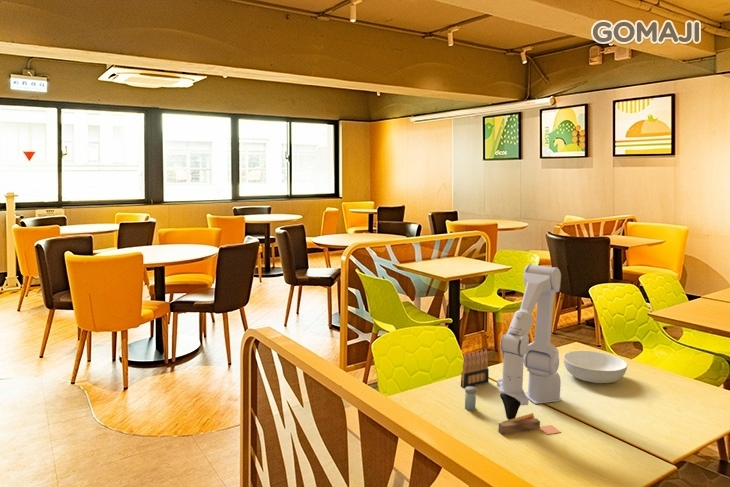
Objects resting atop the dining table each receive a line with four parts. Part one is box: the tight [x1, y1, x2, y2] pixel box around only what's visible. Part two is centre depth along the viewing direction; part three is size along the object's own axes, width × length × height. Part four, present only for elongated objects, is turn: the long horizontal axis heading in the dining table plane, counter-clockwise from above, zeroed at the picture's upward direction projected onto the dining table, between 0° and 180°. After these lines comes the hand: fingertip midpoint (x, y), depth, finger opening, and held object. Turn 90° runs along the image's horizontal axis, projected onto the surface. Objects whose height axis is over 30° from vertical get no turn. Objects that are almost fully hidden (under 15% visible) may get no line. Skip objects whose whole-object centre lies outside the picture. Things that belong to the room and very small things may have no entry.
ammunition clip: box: [460, 348, 490, 389], centre depth 194 cm, size 11×2×12 cm, turn 118°
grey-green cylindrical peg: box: [464, 386, 477, 412], centre depth 175 cm, size 3×3×6 cm
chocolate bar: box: [501, 412, 535, 423], centre depth 166 cm, size 3×12×2 cm, turn 119°
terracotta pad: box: [540, 424, 562, 436], centre depth 162 cm, size 4×4×1 cm
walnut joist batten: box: [497, 417, 541, 436], centre depth 161 cm, size 12×2×2 cm, turn 105°
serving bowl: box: [562, 350, 628, 384], centre depth 200 cm, size 21×21×7 cm
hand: (510, 418), depth 167 cm, fingers closed
